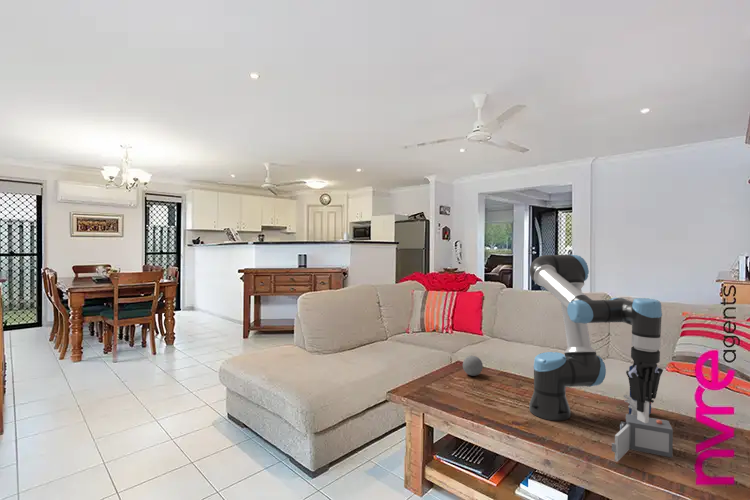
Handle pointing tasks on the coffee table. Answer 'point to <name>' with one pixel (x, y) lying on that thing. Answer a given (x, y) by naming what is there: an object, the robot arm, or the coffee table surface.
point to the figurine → (631, 404)
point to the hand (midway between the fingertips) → (642, 420)
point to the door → (622, 442)
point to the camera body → (650, 435)
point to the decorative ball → (472, 365)
